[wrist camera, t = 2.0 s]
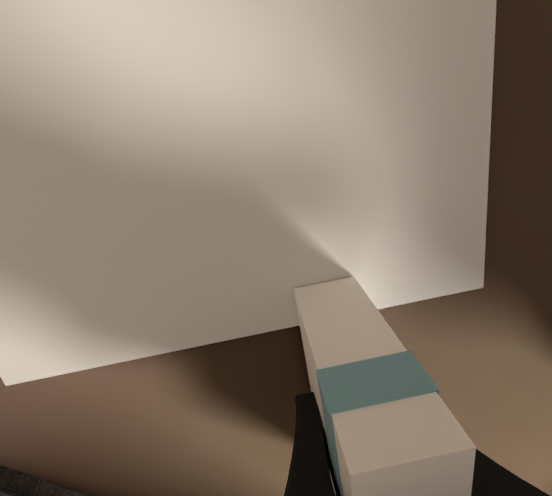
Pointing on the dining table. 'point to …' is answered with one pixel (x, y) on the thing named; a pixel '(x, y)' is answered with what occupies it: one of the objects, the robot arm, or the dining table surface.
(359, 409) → the card deck
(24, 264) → the mat
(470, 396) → the dining table surface
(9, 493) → the phone
